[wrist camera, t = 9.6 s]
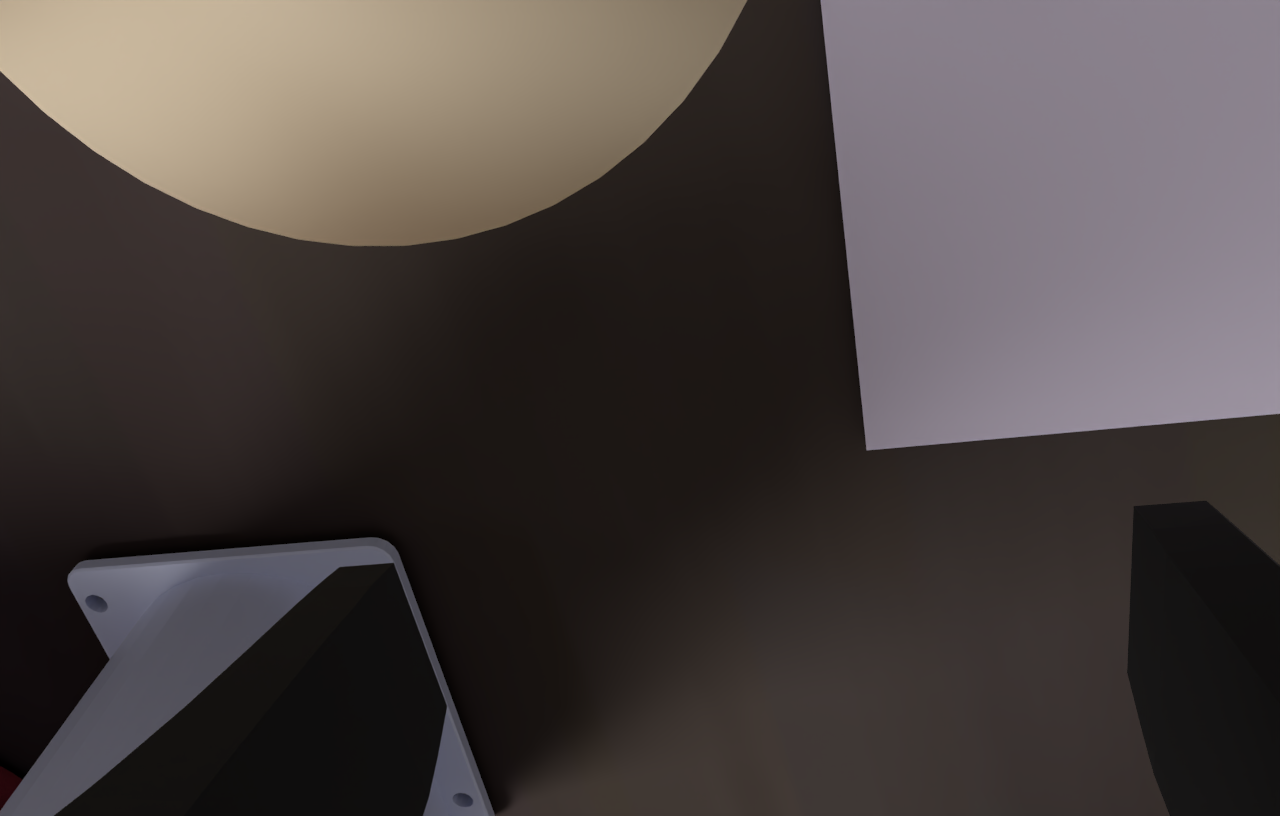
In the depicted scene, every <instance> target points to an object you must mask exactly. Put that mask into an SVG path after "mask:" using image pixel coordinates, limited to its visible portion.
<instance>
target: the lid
mask: <svg viewBox="0 0 1280 816" xmlns="http://www.w3.org/2000/svg"><path fill="white" fill-rule="evenodd" d="M746 2H747V0H0V71H1V72H2V73H3V74H4V75H5V76H6V77H7V78H8V79H9V80H11V81H12V82H13V83H14V84H15V85H16V86H17V87H18V88H19V89H20V90H21V91H22V92H23V93H24V94H25V95H26V96H27V97H29V98H30V99H31V100H32V101H33V102H34V103H35V104H36V105H37V106H38V107H39V108H40V109H41V110H42V111H43V112H44V113H46V114H47V115H48V116H49V117H51V118H52V119H53V120H55V121H56V122H57V123H58V124H60V125H61V126H62V127H64V128H65V129H66V130H68V131H69V132H70V133H71V134H73V135H74V136H75V137H77V138H78V139H79V140H80V141H82V142H83V143H84V144H86V145H87V146H88V147H89V148H91V149H92V150H93V151H95V152H96V153H98V154H100V155H101V156H103V157H104V158H106V159H107V160H109V161H111V162H112V163H114V164H115V165H117V166H119V167H120V168H122V169H123V170H125V171H127V172H128V173H130V174H131V175H133V176H134V177H136V178H138V179H139V180H141V181H142V182H144V183H146V184H148V185H150V186H152V187H154V188H156V189H158V190H160V191H162V192H164V193H166V194H168V195H170V196H172V197H174V198H176V199H178V200H180V201H183V202H185V203H187V204H189V205H191V206H193V207H195V208H197V209H200V210H203V211H205V212H208V213H211V214H214V215H216V216H219V217H222V218H224V219H227V220H230V221H233V222H235V223H238V224H241V225H244V226H246V227H250V228H254V229H258V230H262V231H266V232H270V233H275V234H279V235H283V236H287V237H291V238H295V239H299V240H307V241H315V242H323V243H332V244H340V245H348V246H407V245H415V244H422V243H430V242H437V241H445V240H452V239H458V238H462V237H465V236H469V235H473V234H476V233H480V232H484V231H487V230H491V229H495V228H498V227H502V226H506V225H508V224H511V223H513V222H515V221H518V220H520V219H522V218H525V217H527V216H529V215H532V214H534V213H536V212H539V211H541V210H544V209H546V208H548V207H551V206H553V205H555V204H557V203H558V202H560V201H562V200H563V199H565V198H567V197H568V196H570V195H572V194H573V193H575V192H577V191H579V190H580V189H582V188H584V187H585V186H587V185H589V184H590V183H592V182H594V181H595V180H597V179H599V178H600V177H602V176H603V175H604V174H605V173H607V172H608V171H609V170H610V169H612V168H613V167H614V166H615V165H617V164H618V163H619V162H620V161H622V160H623V159H624V158H625V157H627V156H628V155H629V154H630V153H632V152H633V151H634V150H635V149H637V148H638V147H639V146H640V145H642V144H643V143H644V142H645V141H646V140H647V139H648V138H649V137H650V136H651V135H652V134H653V133H654V131H655V130H656V129H657V128H658V127H659V126H660V125H661V124H662V123H663V122H664V121H665V120H666V119H667V118H668V117H669V116H670V115H671V114H672V113H673V111H674V110H675V109H676V108H677V107H678V106H679V105H680V104H681V103H682V102H683V101H684V100H685V98H686V97H687V96H688V94H689V93H690V91H691V90H692V89H693V87H694V86H695V85H696V83H697V82H698V80H699V79H700V78H701V76H702V75H703V73H704V72H705V71H706V69H707V68H708V67H709V65H710V64H711V62H712V61H713V60H714V58H715V57H716V55H717V54H718V53H719V51H720V50H721V48H722V46H723V44H724V42H725V40H726V39H727V37H728V35H729V33H730V31H731V29H732V28H733V26H734V24H735V22H736V20H737V18H738V16H739V15H740V13H741V11H742V9H743V7H744V5H745V4H746Z"/></svg>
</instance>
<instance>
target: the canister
mask: <svg viewBox="0 0 1280 816" xmlns="http://www.w3.org/2000/svg"><path fill="white" fill-rule="evenodd" d="M22 780H23V779H22V778H20V777H19V776H17V775H15V774H14V773H12V772H11V771H9V770H7V769H5V768H4V767H2V766H0V810H1V809H2V808H3V806H4V805H5V804H6V802H7V801H8V799H9V798H10V797H11V795H12V794H13V793H14V791H15V790H16V788H17V787H18V786H19V784H20V783H21V781H22Z"/></svg>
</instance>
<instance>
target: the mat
mask: <svg viewBox="0 0 1280 816" xmlns="http://www.w3.org/2000/svg"><path fill="white" fill-rule="evenodd" d="M821 10H822V19H823V29H824V39H825V49H826V58H827V68H828V78H829V88H830V97H831V107H832V117H833V127H834V137H835V146H836V156H837V166H838V176H839V185H840V195H841V205H842V215H843V224H844V234H845V244H846V254H847V264H848V273H849V283H850V293H851V303H852V312H853V322H854V332H855V342H856V351H857V361H858V371H859V381H860V391H861V400H862V410H863V420H864V430H865V439H866V449H867V450H877V449H888V448H900V447H911V446H922V445H933V444H944V443H956V442H967V441H978V440H989V439H1000V438H1012V437H1023V436H1034V435H1045V434H1056V433H1068V432H1079V431H1090V430H1101V429H1113V428H1124V427H1135V426H1146V425H1157V424H1169V423H1180V422H1191V421H1202V420H1213V419H1225V418H1236V417H1247V416H1258V415H1269V414H1280V0H821Z"/></svg>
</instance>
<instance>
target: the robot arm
mask: <svg viewBox="0 0 1280 816" xmlns="http://www.w3.org/2000/svg"><path fill="white" fill-rule="evenodd" d="M67 582H68V585H69V588H70V589H71V591H72V593H73V595H74V596H75V598H76V600H77V602H78V604H79V605H80V607H81V609H82V611H83V612H84V614H85V616H86V618H87V620H88V621H89V623H90V625H91V627H92V628H93V630H94V632H95V634H96V636H97V637H98V639H99V641H100V643H101V645H102V646H103V648H104V650H105V652H106V653H107V655H108V657H109V659H110V660H109V661H108V663H107V664H106V665H105V667H104V668H103V670H102V671H101V672H100V674H99V675H98V677H97V678H96V679H95V681H94V682H93V683H92V685H91V686H90V688H89V689H88V690H87V692H86V693H85V694H84V696H83V697H82V699H81V700H80V701H79V703H78V704H77V706H76V707H75V708H74V710H73V711H72V712H71V714H70V715H69V717H68V718H67V719H66V721H65V722H64V723H63V725H62V726H61V728H60V729H59V730H58V732H57V733H56V735H55V736H54V737H53V739H52V740H51V741H50V743H49V744H48V746H47V747H46V748H45V750H44V751H43V752H42V754H41V755H40V757H39V758H38V759H37V761H36V762H35V764H34V765H33V766H32V768H31V769H30V770H29V772H28V773H27V775H26V776H25V777H24V779H23V780H22V781H21V783H20V784H19V786H18V787H17V788H16V790H15V791H14V793H13V794H12V795H11V797H10V798H9V799H8V801H7V802H6V804H5V805H4V806H3V808H2V809H1V810H0V816H495V814H494V811H493V809H492V806H491V803H490V800H489V798H488V795H487V792H486V790H485V787H484V784H483V781H482V779H481V776H480V773H479V771H478V768H477V765H476V762H475V760H474V757H473V754H472V752H471V749H470V746H469V743H468V741H467V738H466V735H465V732H464V730H463V727H462V724H461V722H460V719H459V716H458V713H457V711H456V708H455V705H454V703H453V700H452V697H451V694H450V692H449V689H448V686H447V684H446V681H445V678H444V675H443V673H442V670H441V667H440V665H439V662H438V659H437V656H436V654H435V651H434V648H433V646H432V643H431V640H430V637H429V635H428V632H427V629H426V627H425V624H424V621H423V618H422V616H421V613H420V610H419V608H418V605H417V602H416V599H415V597H414V594H413V591H412V589H411V586H410V583H409V580H408V578H407V575H406V572H405V570H404V567H403V564H402V561H401V559H400V556H399V553H398V552H397V550H396V549H395V547H394V546H393V545H392V544H390V543H389V542H388V541H386V540H383V539H381V538H374V537H367V538H355V539H342V540H330V541H318V542H305V543H293V544H281V545H268V546H256V547H244V548H232V549H219V550H207V551H195V552H182V553H170V554H158V555H146V556H133V557H121V558H109V559H96V560H86V561H82V562H79V563H78V564H77V565H76V566H75V567H74V569H73V570H72V571H71V572H70V573H69V574H68V579H67ZM98 596H99V597H101V598H103V599H104V600H103V599H101V598H99V597H98ZM1127 673H1128V677H1129V681H1130V685H1131V689H1132V693H1133V697H1134V701H1135V705H1136V709H1137V712H1138V716H1139V720H1140V724H1141V728H1142V732H1143V736H1144V739H1145V743H1146V747H1147V750H1148V754H1149V758H1150V762H1151V765H1152V769H1153V773H1154V775H1155V778H1156V781H1157V783H1158V786H1159V788H1160V791H1161V794H1162V796H1163V799H1164V801H1165V804H1166V807H1167V809H1168V812H1169V814H1170V816H1280V565H1279V564H1278V563H1276V562H1275V561H1274V560H1273V559H1272V558H1271V557H1270V556H1269V555H1267V554H1266V553H1265V552H1264V551H1263V550H1262V549H1261V548H1260V547H1258V546H1257V545H1256V544H1255V543H1254V542H1253V541H1252V540H1251V539H1249V538H1248V537H1247V536H1246V535H1245V534H1244V533H1243V532H1242V531H1241V530H1239V529H1238V528H1237V527H1236V526H1235V525H1234V524H1233V523H1232V522H1230V521H1229V520H1228V519H1227V518H1226V517H1225V516H1224V515H1222V514H1221V513H1220V512H1219V511H1218V510H1217V509H1215V508H1214V507H1213V506H1212V505H1211V504H1209V503H1208V502H1207V501H1198V502H1184V503H1171V504H1158V505H1145V506H1134V517H1133V542H1132V568H1131V593H1130V619H1129V644H1128V670H1127ZM463 793H464V794H463Z"/></svg>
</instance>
